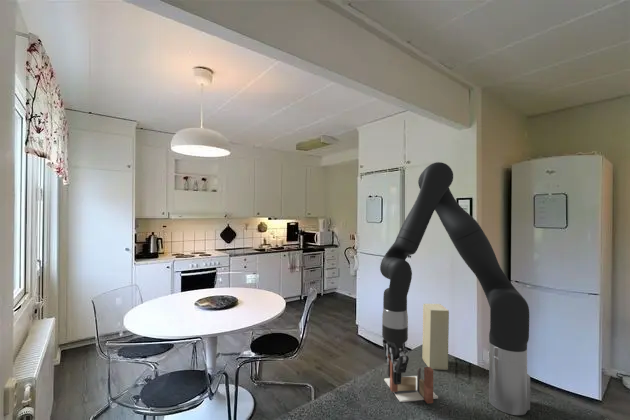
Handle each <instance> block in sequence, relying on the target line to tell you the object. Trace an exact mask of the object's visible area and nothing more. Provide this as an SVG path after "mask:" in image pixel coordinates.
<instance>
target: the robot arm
mask: <svg viewBox="0 0 630 420" xmlns="http://www.w3.org/2000/svg"><path fill="white" fill-rule="evenodd" d="M453 180H454V172H453V170H452V168H451V167H450V165H448V164H447V163H444V162H442V161H441V162H439V161H437V162H433V163H431V164H429V165H428V166H427V167H425V168H424V170H423V171H422V172H421V173H420V175H419V177H418V181H417V182H418V187H419V189H420V190H419V192H418V195H417V197H416V200H415V202H414V204H413V206H412V208H411V209H410V211H409V213H408V214H407V216H406V218H405V220H404V221H403V223H402V225H401V227H400V230H399V232H398V234H397V236H396V239H395V240H394V243H393V244H392V245H391V246H390V248H389V249H388V250H387V251H386V253H385V254H384V256H383V257H382V259H381V261H380V266H379V268H380V269H379V270H380V274H381V275H382V276H383V277H384V278H385V279H388V280H389V285H388V288H386V289H384V291H383V303H382V304H383V307H382V309H383V310H382V315H381V317H382V319H381V320H382V323H381V324H382V329H381V330H382V332H381V333H382V335H381V336H382V345H383V353H384V354H383V355H384V360H386V364H387V377H388V378H390V359H391V362H392V363H393V370H394V371H393V382H394V384H395V385H397V384H401V377H402V374H403V373H406V372H407V368H408V364H409V355H405V350H404V349H405V348H404V344H405V343H406V342H408V339H409V337H408V336H409V333H408V332H409V316H408V294H409V292H410V287H411V282H412V278H413V271H412V268H411V265H410V263H409V262H408V261H407V260H406V259H407V258H408V257H409V256H413V255H414V254H416V252H417V251H418V248H419V246H420V245H421V242H422V240H423V238H424V235H425V233H426V230H427V228H428V226H429V224H430V222H431V219H432V217H433V214H434V212H435V213H436V214H437V216H438V218H439V220H440V222H441V224H442V226H443V228H444V229H445V232H446V233H447V234H448V237H449V239H450V240H451V242H452V244H453V246H454V247H455V249H456V251H457V253H458V254H459V256H460V257H461V259H462V260H463V262H464V263H465V264H466V265H467V267H468V268H469V269H470V270H471V272H472V273H473V275H475V277H476V279H477V280H478V282H479V285H480V287H481V288H482V290H483V292H484V295H485V297H486V300H487V303H488V306H489V310H490V312H489V314H490V318H489V319H490V320H489V321H490V322H489V325H490V326H489V333H488V334H489V335H488V337H489V338H488V344H489V345H488V358H489V359H488V397H489V398H488V401H489V403H490V405H492V406H493V407H494V408H495V409H496V410H498V411H501V412H503V413H504V414H509V415H511V416H513V415H514V416H524V415H526V413H527V412H528V411H531V376H530V375H529V374H528V343H529V340H530V307H529V304H528V302H527V300H526V299H525V298H524V297H523V296H522V294H521V293H520V292H519V290H517V289H516V288H515V286H514V285H513V284H512V282H511V281H510V279H509V278H508V277H507V275H506V274H505V272H504V271H503V269H502V267H501V265H500V264H499V260H498V258H497V256H496V253H495V251H494V249H493V247H492V245H491V242H490V240H489V239H488V236H487V235H486V234H485V232H484V230H483V228H482V227H481V226H480V224H479V222H477V220H476V219H475V218H474V217H473V216H472V215H471V214H470V213H468V211H466V210H465V209H464V208H463V207H462V206H461V205H460V204H459V203H458V202H457V200H456V199H455V197H454V195H453V193H452V191H451V189H450V187H451V185H452V183H453ZM394 359H396V360H394ZM396 364H397V367H396Z"/></svg>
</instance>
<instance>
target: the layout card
mask: <svg viewBox="0 0 630 420" xmlns="http://www.w3.org/2000/svg"><path fill="white" fill-rule="evenodd" d="M407 377H415V378H416V390H409V391H398V392H392V393H393V394H394V395H395V397H396V398H397V399H398V401H399V402H400V403H404V402H405V403H406V402H416V401H417V402H418V401H425V400H424V397H423V396H422V395H421V394H420V393H419V391H418V390H417V375H411V376H410V375H409V376H407ZM383 380H384V382H385V383H386V384H387V386H388V387H389V388H390V377H387V378H383ZM434 399H435V400H436V399H437V400H438V399H439V396H438V395H437V394H436V393H435V392H434V391H433V400H434Z"/></svg>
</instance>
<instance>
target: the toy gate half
mask: <svg viewBox="0 0 630 420" xmlns="http://www.w3.org/2000/svg"><path fill="white" fill-rule="evenodd" d="M394 360H397V359H394ZM396 367H397V364H396ZM393 371H394V370H393V363H392V362H391V359H390V377H389V378H390V387H389V389H390V392H391V393H393V392H398V391H409V390H416V378H415V377H408V376H401V384H397V385H395V384H394V382H393Z"/></svg>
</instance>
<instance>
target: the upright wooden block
mask: <svg viewBox="0 0 630 420" xmlns="http://www.w3.org/2000/svg"><path fill="white" fill-rule="evenodd" d="M422 306H423V307H422V350H421V351H422V352H421V353H422V356H421V357H422V361H423V362H424V363H425V365H426V367H431V368H432V369H433V370H444V371H446V370H447V371H448V370H449V328H450V327H449V324H450V311H449V309H447V308H446V307H445V306H444V305H442V304H441V303H423V305H422Z"/></svg>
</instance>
